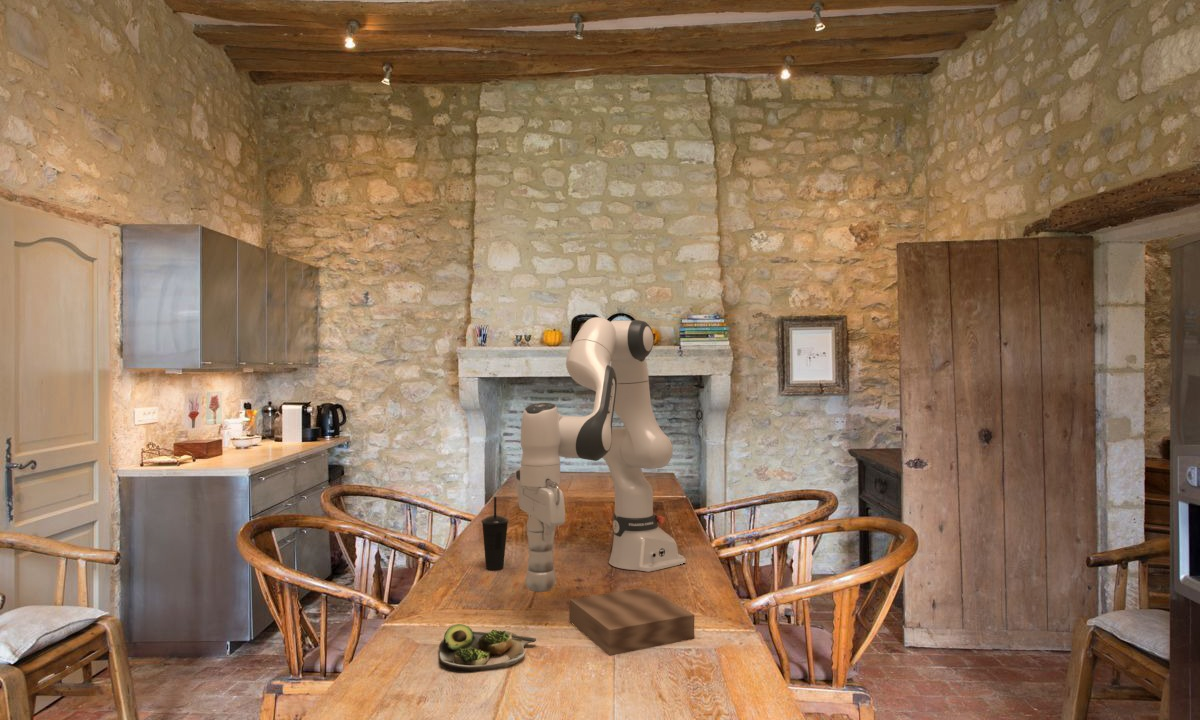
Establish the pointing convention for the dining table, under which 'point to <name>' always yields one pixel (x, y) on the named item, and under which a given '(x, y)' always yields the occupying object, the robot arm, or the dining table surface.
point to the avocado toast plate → (479, 648)
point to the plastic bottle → (539, 558)
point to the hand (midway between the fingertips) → (541, 537)
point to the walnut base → (630, 620)
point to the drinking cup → (494, 540)
